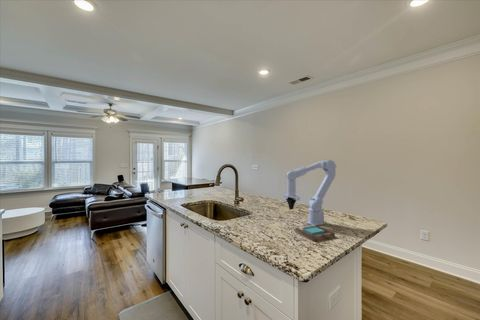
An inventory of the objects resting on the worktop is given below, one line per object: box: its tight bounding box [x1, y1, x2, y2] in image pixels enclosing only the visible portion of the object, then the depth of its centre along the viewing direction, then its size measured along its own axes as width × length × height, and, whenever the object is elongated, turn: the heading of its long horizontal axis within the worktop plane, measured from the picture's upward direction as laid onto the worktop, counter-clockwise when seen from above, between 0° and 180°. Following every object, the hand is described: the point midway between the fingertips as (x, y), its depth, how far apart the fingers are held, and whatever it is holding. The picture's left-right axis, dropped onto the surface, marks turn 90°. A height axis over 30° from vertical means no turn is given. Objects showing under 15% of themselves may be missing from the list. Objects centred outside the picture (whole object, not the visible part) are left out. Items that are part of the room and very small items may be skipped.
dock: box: [294, 225, 336, 242], centre depth 118 cm, size 15×15×2 cm
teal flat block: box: [301, 224, 325, 236], centre depth 119 cm, size 10×8×4 cm
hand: (291, 209), depth 139 cm, fingers closed
